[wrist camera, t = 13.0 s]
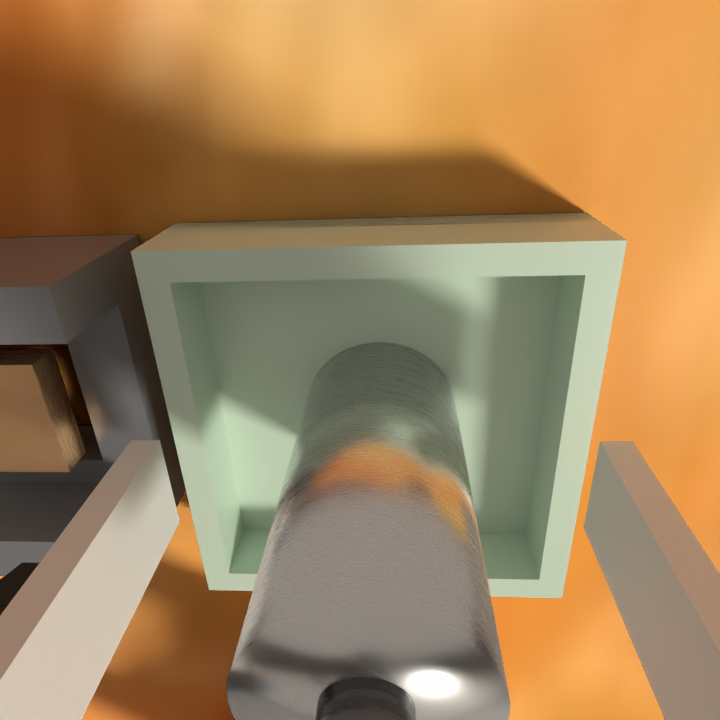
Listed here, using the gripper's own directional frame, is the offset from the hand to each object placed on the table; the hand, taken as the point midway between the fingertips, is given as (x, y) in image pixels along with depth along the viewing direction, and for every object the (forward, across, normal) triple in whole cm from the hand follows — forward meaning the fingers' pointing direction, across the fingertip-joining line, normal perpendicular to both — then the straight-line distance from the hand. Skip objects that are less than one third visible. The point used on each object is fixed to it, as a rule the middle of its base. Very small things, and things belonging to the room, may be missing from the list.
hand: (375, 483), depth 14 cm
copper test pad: (+2, -11, +1) cm, 11 cm away
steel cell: (+3, 0, 0) cm, 3 cm away
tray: (+4, 0, 0) cm, 4 cm away
